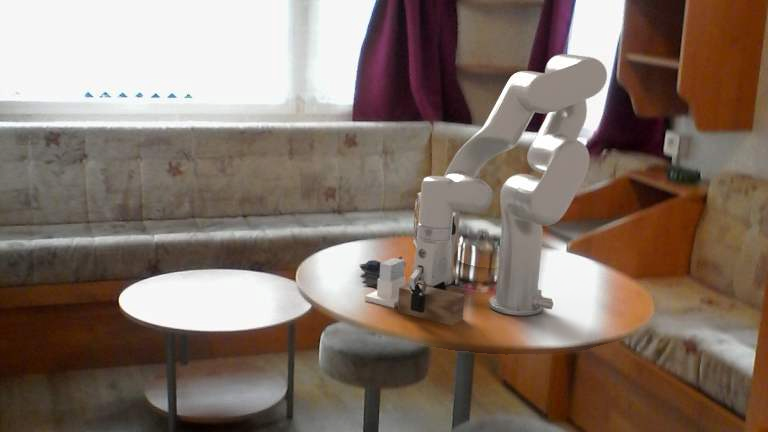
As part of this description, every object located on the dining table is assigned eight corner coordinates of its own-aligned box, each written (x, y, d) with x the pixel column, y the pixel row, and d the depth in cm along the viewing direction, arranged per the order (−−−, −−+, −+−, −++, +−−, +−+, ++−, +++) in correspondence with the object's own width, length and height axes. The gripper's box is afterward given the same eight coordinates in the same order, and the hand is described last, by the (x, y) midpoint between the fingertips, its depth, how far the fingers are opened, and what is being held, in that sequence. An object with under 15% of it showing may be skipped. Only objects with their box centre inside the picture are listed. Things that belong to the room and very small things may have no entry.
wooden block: (462, 320, 196) (464, 294, 195) (452, 326, 192) (454, 300, 190) (408, 307, 203) (409, 282, 201) (397, 312, 199) (399, 287, 197)
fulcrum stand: (415, 297, 209) (417, 260, 207) (393, 307, 201) (395, 269, 199) (387, 290, 213) (389, 254, 211) (364, 300, 205) (366, 263, 203)
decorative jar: (416, 253, 247) (420, 191, 243) (411, 242, 258) (415, 182, 254) (458, 254, 248) (462, 192, 244) (451, 243, 260) (455, 184, 255)
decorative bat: (369, 243, 239) (405, 249, 238) (367, 257, 240) (403, 263, 239) (348, 274, 211) (389, 281, 209) (346, 290, 212) (387, 297, 210)
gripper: (430, 242, 184) (423, 319, 187) (467, 229, 198) (460, 300, 202) (399, 235, 187) (393, 311, 191) (438, 223, 202) (432, 293, 206)
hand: (427, 305), depth 197 cm, fingers open, 9 cm apart
